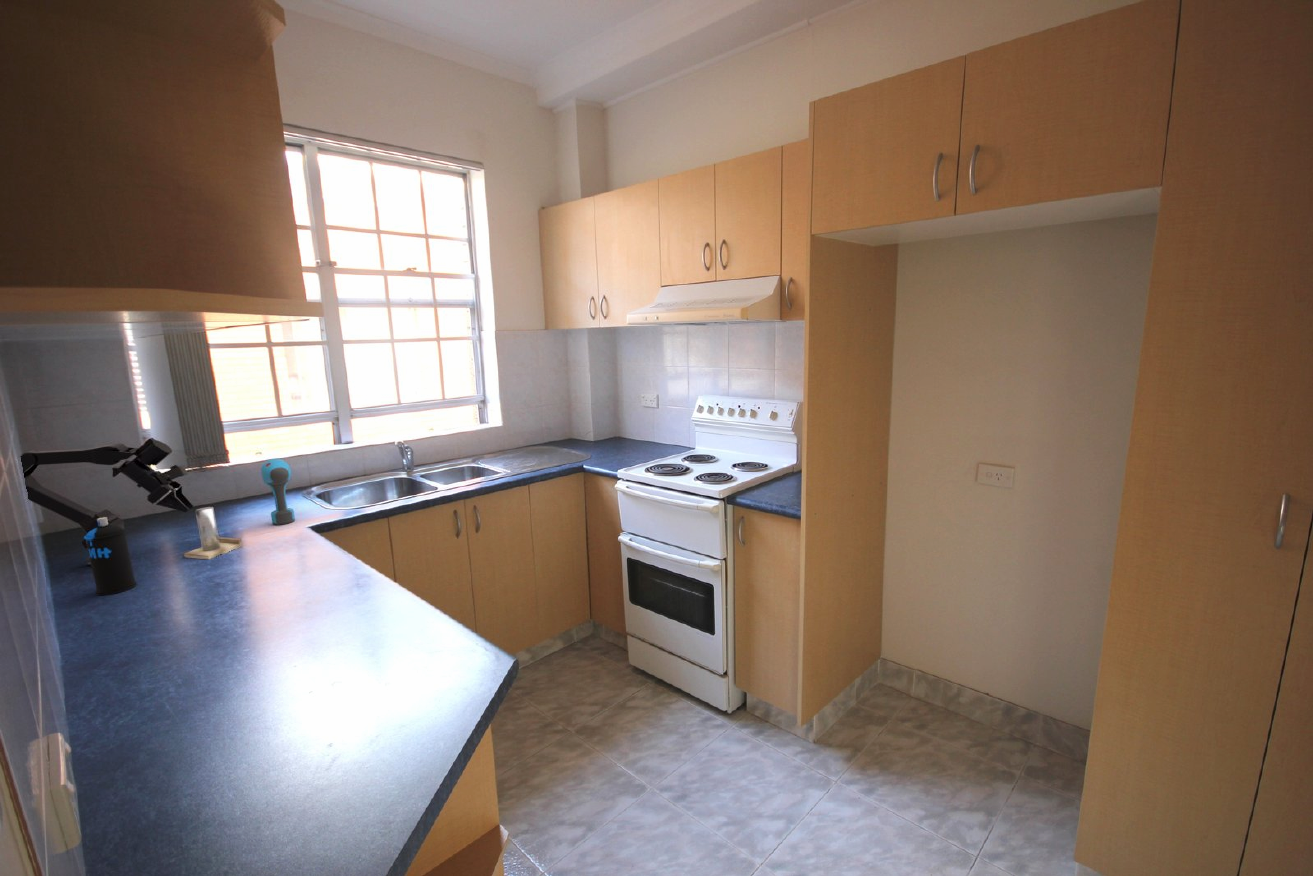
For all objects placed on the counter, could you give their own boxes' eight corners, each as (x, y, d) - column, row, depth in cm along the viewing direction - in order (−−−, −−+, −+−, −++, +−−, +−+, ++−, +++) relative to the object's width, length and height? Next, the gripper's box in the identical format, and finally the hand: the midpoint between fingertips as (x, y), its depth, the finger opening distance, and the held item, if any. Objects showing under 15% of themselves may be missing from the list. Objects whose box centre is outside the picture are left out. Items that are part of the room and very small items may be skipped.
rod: (207, 552, 180) (199, 511, 178) (199, 550, 182) (192, 510, 180) (223, 547, 184) (216, 507, 182) (215, 545, 186) (209, 506, 184)
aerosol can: (124, 581, 163) (110, 512, 159) (144, 584, 160) (130, 514, 157) (88, 593, 155) (72, 522, 151) (109, 597, 152) (93, 524, 149)
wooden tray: (208, 559, 177) (207, 551, 177) (184, 557, 180) (183, 549, 180) (242, 546, 188) (241, 538, 187) (219, 544, 190) (217, 537, 190)
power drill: (262, 514, 223) (253, 455, 219) (288, 509, 229) (280, 451, 225) (273, 531, 202) (263, 466, 198) (302, 525, 208) (292, 461, 204)
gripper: (161, 458, 173) (207, 493, 179) (173, 455, 189) (216, 487, 195) (126, 485, 169) (175, 520, 175) (142, 481, 185) (186, 513, 191)
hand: (189, 509), depth 184 cm, fingers open, 9 cm apart
